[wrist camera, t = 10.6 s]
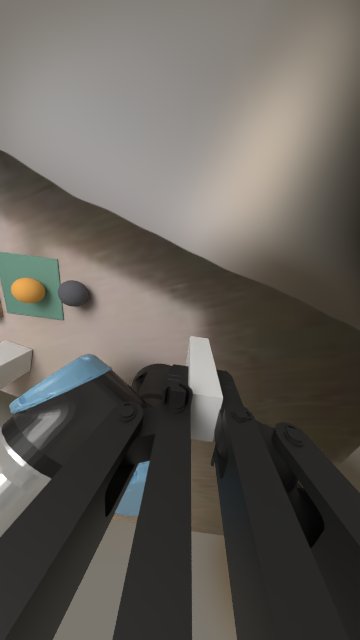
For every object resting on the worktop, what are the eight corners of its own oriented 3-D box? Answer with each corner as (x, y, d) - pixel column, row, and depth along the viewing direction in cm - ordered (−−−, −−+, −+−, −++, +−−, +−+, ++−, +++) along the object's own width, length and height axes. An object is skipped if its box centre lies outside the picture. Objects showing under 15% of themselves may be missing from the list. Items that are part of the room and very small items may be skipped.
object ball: (30, 307, 34) (7, 304, 35) (53, 301, 39) (32, 299, 40) (24, 280, 32) (-1, 277, 33) (49, 277, 37) (27, 275, 38)
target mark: (63, 319, 40) (63, 320, 40) (8, 312, 41) (7, 312, 41) (57, 259, 36) (57, 259, 36) (-5, 251, 37) (-6, 251, 36)
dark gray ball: (57, 309, 33) (58, 301, 37) (88, 310, 36) (86, 302, 40) (56, 282, 31) (57, 276, 35) (89, 285, 34) (87, 279, 38)
